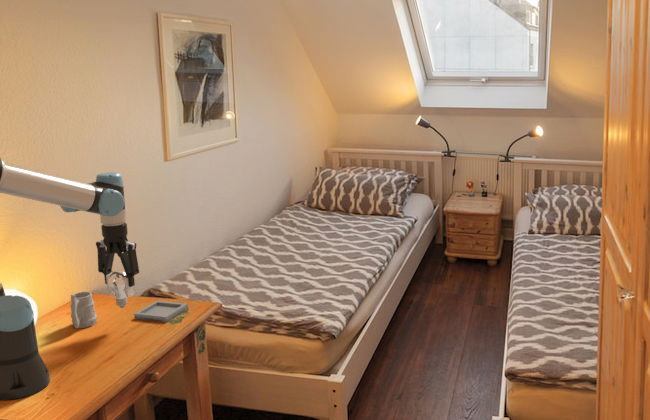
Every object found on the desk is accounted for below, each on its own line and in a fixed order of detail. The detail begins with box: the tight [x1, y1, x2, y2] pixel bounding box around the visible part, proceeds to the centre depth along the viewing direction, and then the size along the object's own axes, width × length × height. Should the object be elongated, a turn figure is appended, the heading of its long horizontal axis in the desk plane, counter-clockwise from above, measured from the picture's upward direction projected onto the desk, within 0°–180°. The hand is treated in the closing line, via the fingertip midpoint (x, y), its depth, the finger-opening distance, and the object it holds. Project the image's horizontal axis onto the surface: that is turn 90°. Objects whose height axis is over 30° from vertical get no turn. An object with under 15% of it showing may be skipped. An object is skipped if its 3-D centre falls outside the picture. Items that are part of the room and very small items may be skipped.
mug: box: [70, 291, 98, 329], centre depth 221 cm, size 8×12×12 cm, turn 177°
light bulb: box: [108, 269, 128, 309], centre depth 218 cm, size 7×7×12 cm
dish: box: [133, 300, 189, 323], centre depth 229 cm, size 12×12×2 cm
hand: (120, 295), depth 218 cm, fingers closed on light bulb, 6 cm apart
